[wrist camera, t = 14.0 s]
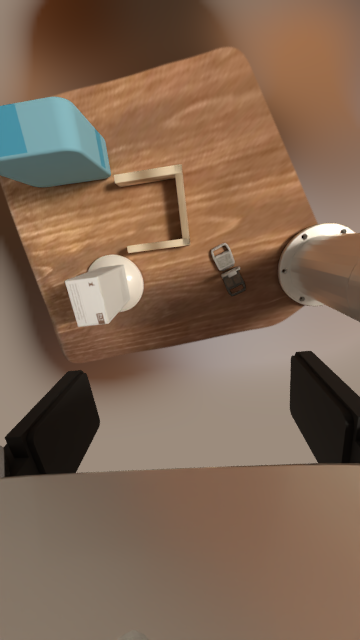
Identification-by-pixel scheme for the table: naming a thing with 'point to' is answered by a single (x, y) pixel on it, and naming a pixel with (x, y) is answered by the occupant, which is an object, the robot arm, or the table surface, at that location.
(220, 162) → the table surface
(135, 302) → the ceramic coaster
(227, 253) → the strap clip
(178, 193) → the stand
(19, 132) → the data package
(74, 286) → the skincare box
